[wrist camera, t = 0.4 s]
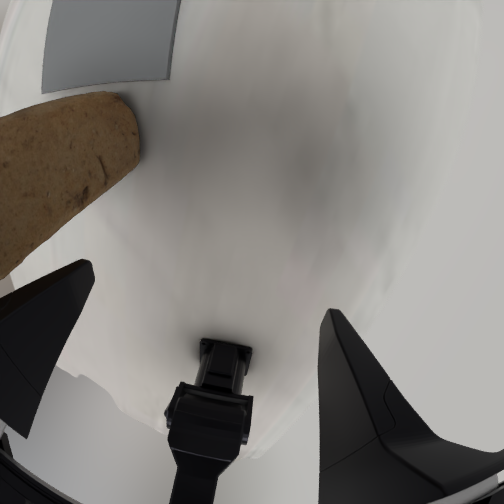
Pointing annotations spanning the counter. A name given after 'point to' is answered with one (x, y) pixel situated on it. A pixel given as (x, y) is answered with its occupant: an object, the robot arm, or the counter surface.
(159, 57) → the mat
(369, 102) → the counter surface
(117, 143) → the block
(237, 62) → the counter surface
